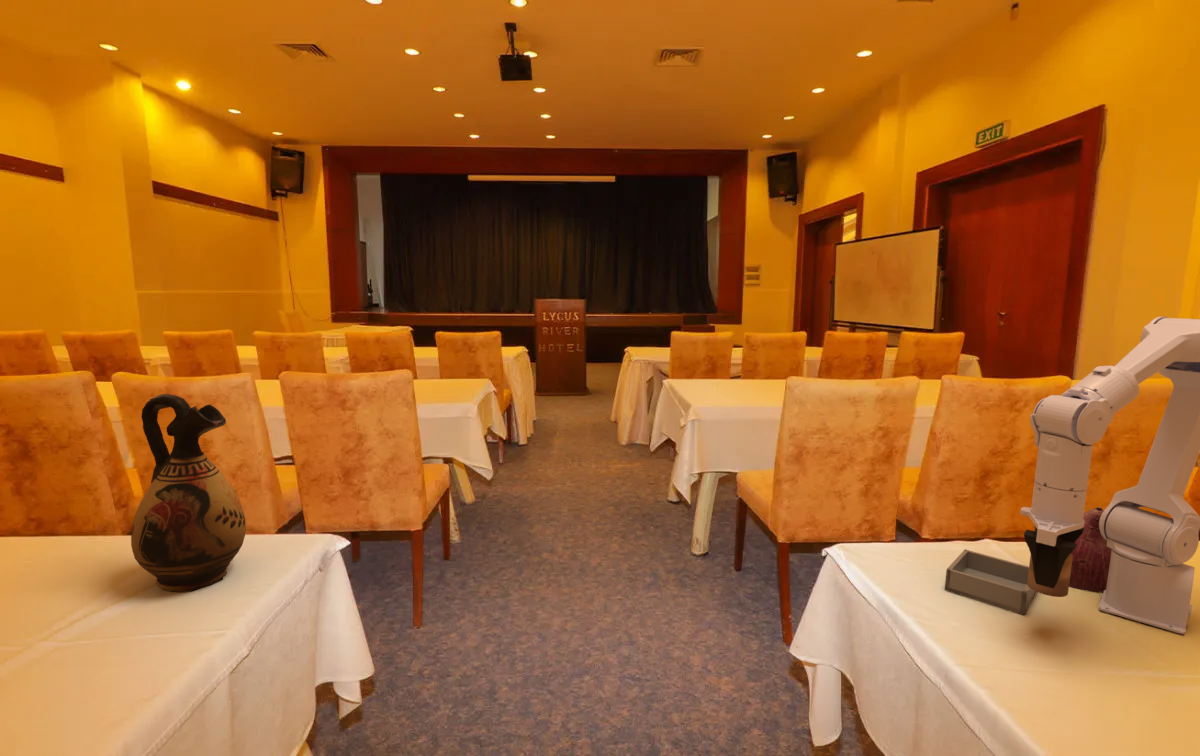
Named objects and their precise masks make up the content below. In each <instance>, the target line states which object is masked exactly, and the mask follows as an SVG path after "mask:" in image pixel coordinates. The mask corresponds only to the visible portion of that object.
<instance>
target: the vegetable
mask: <svg viewBox="0 0 1200 756" xmlns="http://www.w3.org/2000/svg"><path fill="white" fill-rule="evenodd" d="M1103 511H1104V509H1103V508H1102V507H1101V506H1097V507H1095V508H1094V507H1093V508H1091V509H1088V510H1087V511H1084V515H1083V519H1084V521H1085V522H1084V531H1083V533H1082V534H1081V535H1080V537H1079V538H1078V539H1077V540H1076V542H1075V543H1076V544H1077V546H1076V548H1075V549H1074V550H1073V551H1072V552H1071V553H1072V555H1073V558H1072V566H1071V574H1070V582H1069V588H1074V589H1079V590H1083V591H1086V590H1087V591H1088V592H1091V591H1093V592H1094V593H1099V592H1102V593H1103V592H1104V590H1106V587H1107V579H1108V572H1109V565H1110V558H1111V551H1112V549H1111V548H1109V547H1107V540H1105V539H1104V538H1103V537H1102V535H1101V532H1100V529H1099V521H1100V517H1101V515H1102V513H1103ZM1087 591H1086V592H1087Z"/></svg>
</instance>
